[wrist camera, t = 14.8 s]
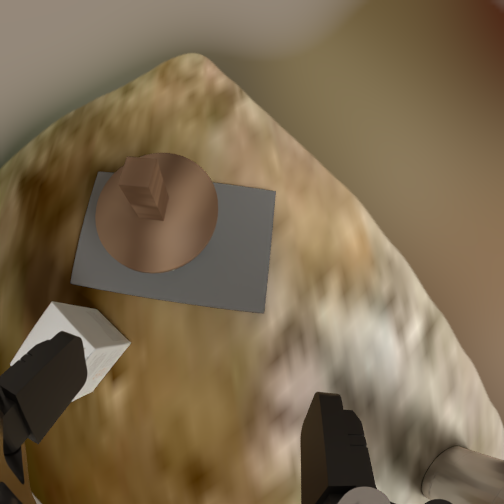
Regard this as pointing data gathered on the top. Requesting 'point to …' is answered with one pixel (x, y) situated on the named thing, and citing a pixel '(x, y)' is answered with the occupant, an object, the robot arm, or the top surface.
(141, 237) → the lid
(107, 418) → the top surface
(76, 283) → the mat
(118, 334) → the small box
